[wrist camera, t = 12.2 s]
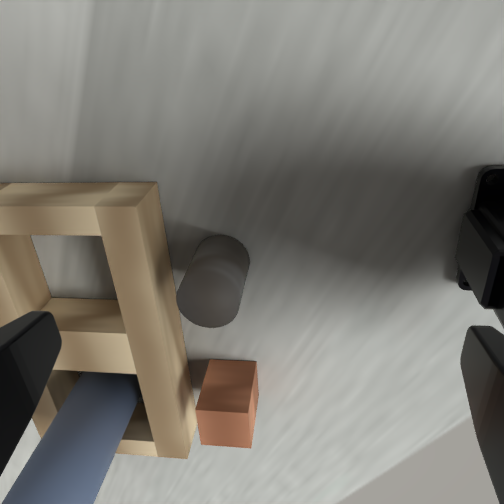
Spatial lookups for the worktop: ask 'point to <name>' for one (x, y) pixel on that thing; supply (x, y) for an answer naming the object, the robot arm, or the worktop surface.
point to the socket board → (132, 312)
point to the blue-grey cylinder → (79, 442)
